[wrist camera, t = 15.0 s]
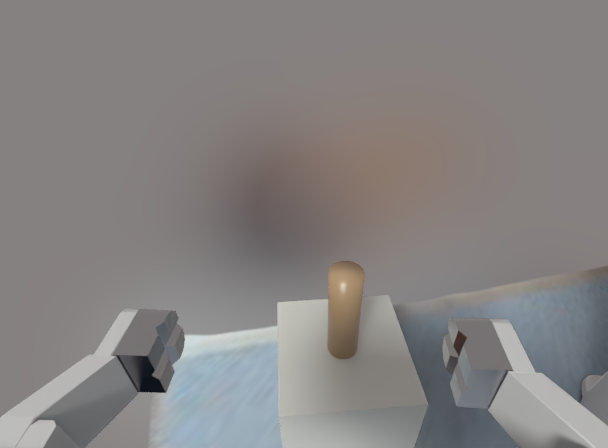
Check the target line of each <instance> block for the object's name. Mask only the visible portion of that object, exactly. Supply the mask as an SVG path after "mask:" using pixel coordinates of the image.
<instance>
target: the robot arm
mask: <svg viewBox="0 0 608 448" xmlns="http://www.w3.org/2000/svg"><path fill="white" fill-rule="evenodd" d="M177 320H178V316H177V313H176V311H168V310H167V311H166V310H148V309H127V308H126V309H124V310H123V311H122V312H121V313H120V314H119V316H118V317H117V319H116V320H115V322H114V324H113V325H112V327H111V328H110V330H109V331H108V333H107V335H106V336H105V338H104V339H103V341H102V343H101V344H100V346H99V347H98V349H97V350H96V352H95V354H94V355H88V356H86V357H85V358H84V359H82V360H81V361H79V362H78V363H77V364H75V365H74V366H72V367H71V368H70V369H68V370H66V371H65V372H64V373H62V374H61V375H59V376H58V377H57V378H55V379H54V380H52V381H51V382H49V383H48V384H47V385H45V386H44V387H42V388H41V389H39V390H38V391H37V392H35V393H34V394H33V395H31V396H30V397H28V398H27V399H25V400H24V401H22V402H21V403H20V404H18V405H17V406H15V407H14V408H13V409H11V410H10V411H8V412H7V413H5V414H4V415H3V416H2V417H1V418H0V448H85V447H86V446H87V445H88V444H89V443H90V442H91V441H92V440H93V439H94V438H95V437H96V436H97V435H98V434H99V433H100V432H101V431H102V430H103V429H104V428H105V427H106V426H107V425H108V424H109V423H110V422H111V421H112V420H113V419H114V418H115V417H116V416H117V415H118V414H119V413H120V412H121V411H122V410H123V409H124V408H125V407H126V406H127V405H128V404H129V403H130V402H131V401H132V400H133V399H134V398H135V397H136V396H137V395H138V392H157V393H166V391H167V389H168V387H169V384H170V382H171V379H172V377H173V374H174V369H173V366H172V365H173V364H174V363H175V362H176V361H177V360H178V359H180V357H181V354H182V351H183V348H184V341H185V338H184V332H183V329H182V327H181V326H179V325H178V324H177ZM447 327H448V330H449V333H448V334H447V335H445V336H444V339H443V343H442V354H443V361H444V364H445V368H446V370H447V371H448V372H449V373H450V374H451V375H452V378H451V381H450V386H451V390H452V393H453V397H454V400H455V404H456V407H467V408H481V409H489V410H488V411H489V412H490V413H491V415H492V416H493V417H494V418H495V419H496V420H497V422H498V423H499V424H500V425H501V426H502V427H503V429H504V430H505V431H506V432H507V433H508V434H509V436H510V437H511V438H512V439H513V440H514V441H515V443H516V444H517V445H518V446H519V447H520V448H608V371H607V372H606V373H605V374H604V375H603V376H599V375H589V376H587V377H586V378H585V379H584V380H583V381H582V386H581V388H582V400H581V402H580V403H579V402H577V401H576V400H575V399H574V398H573V397H571V396H570V395H569V394H568V393H566V392H565V391H564V390H563V389H561V388H560V387H559V386H558V385H556V384H555V383H554V382H553V381H552V380H550V379H549V378H548V377H547V376H545V375H544V374H543V373H539V372H536V371H535V369H534V367H533V365H532V364H531V362H530V360H529V358H528V356H527V354H526V352H525V350H524V348H523V346H522V344H521V342H520V340H519V338H518V336H517V334H516V332H515V330H514V328H513V326H512V324H511V322H510V321H508V320H507V319H486V318H451V319H450V320H449V322H448V325H447Z"/></svg>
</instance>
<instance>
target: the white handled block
mask: <svg viewBox="0 0 608 448" xmlns="http://www.w3.org/2000/svg"><path fill="white" fill-rule="evenodd" d="M363 282H364V271H363V268H361V266H360V265H358V264H356V263H354V262H350V261H341V262H337V263H335V264H333V265H332V266H331V268H330V269H329V288H328V289H329V290H328V291H329V292H328V299H321V300H306V301H292V302H278V303H277V304H278V305H277V307H278V406H279V424H280V431H281V439H282V447H283V448H414V447H415V444H416V441H417V438H418V435H419V432H420V429H421V426H422V423H423V420H424V416H425V413H426V410H427V407H428V401H427V399H426V396H425V393H424V390H423V388H422V385H421V382H420V379H419V377H418V374H417V371H416V368H415V366H414V363H413V360H412V357H411V355H410V352H409V349H408V346H407V344H406V341H405V338H404V335H403V333H402V330H401V327H400V324H399V322H398V319H397V316H396V314H395V311H394V308H393V305H392V303H391V300H390V297H389V295H378V296H364V297H362V293H363Z"/></svg>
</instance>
